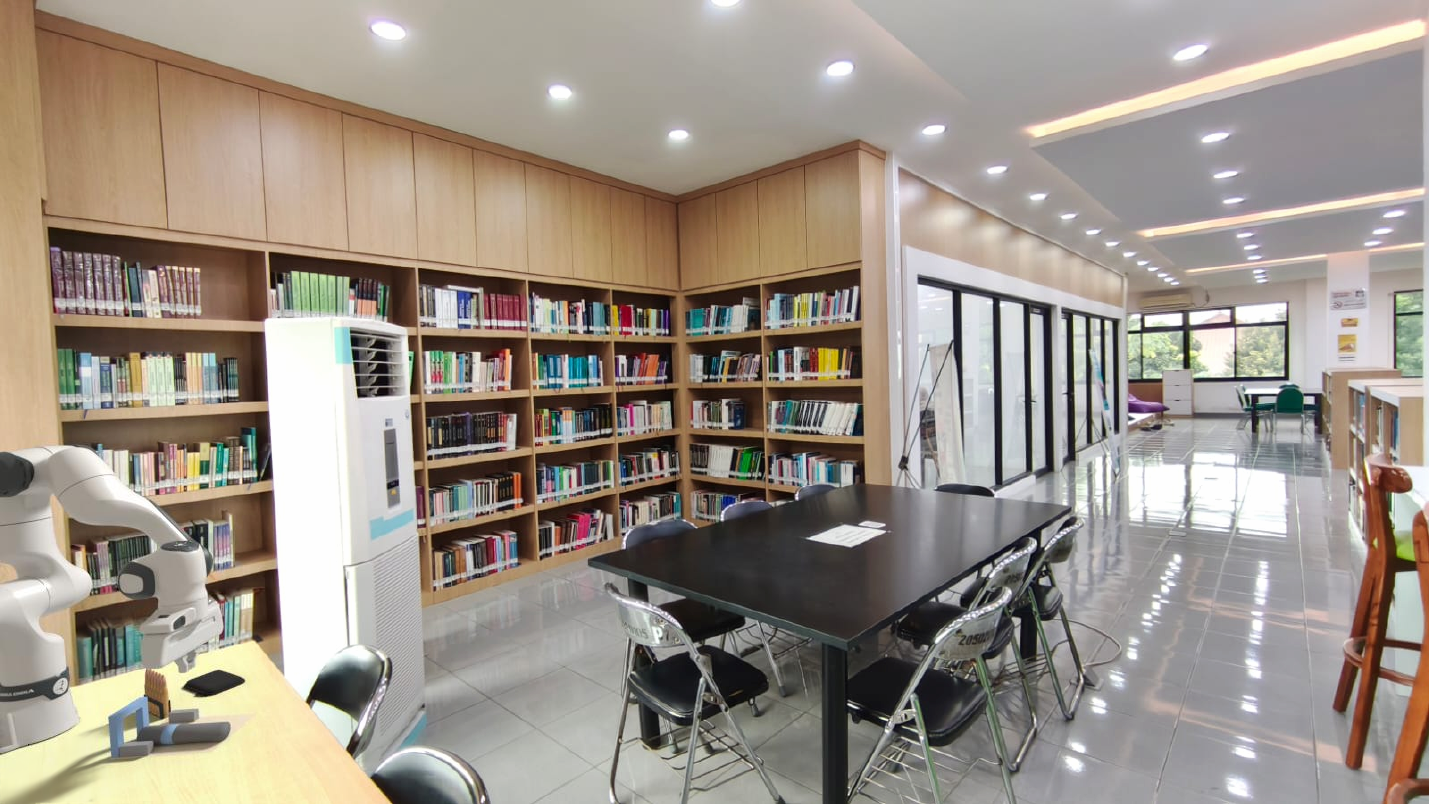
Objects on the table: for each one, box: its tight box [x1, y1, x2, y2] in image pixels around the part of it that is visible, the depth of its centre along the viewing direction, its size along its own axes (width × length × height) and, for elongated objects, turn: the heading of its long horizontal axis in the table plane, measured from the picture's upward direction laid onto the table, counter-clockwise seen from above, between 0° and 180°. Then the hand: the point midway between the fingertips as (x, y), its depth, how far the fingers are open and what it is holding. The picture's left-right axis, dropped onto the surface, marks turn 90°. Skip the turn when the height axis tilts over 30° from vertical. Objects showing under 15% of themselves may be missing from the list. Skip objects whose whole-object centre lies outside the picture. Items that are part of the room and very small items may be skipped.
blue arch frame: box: [107, 696, 150, 758], centre depth 146 cm, size 2×9×10 cm, turn 4°
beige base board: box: [108, 708, 259, 760], centre depth 150 cm, size 22×17×4 cm
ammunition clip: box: [143, 668, 172, 720], centre depth 161 cm, size 11×2×12 cm, turn 61°
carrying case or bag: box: [183, 669, 246, 698], centre depth 175 cm, size 11×3×15 cm
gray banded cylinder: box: [135, 722, 231, 745], centre depth 147 cm, size 18×4×4 cm, turn 94°
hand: (187, 670), depth 146 cm, fingers closed
